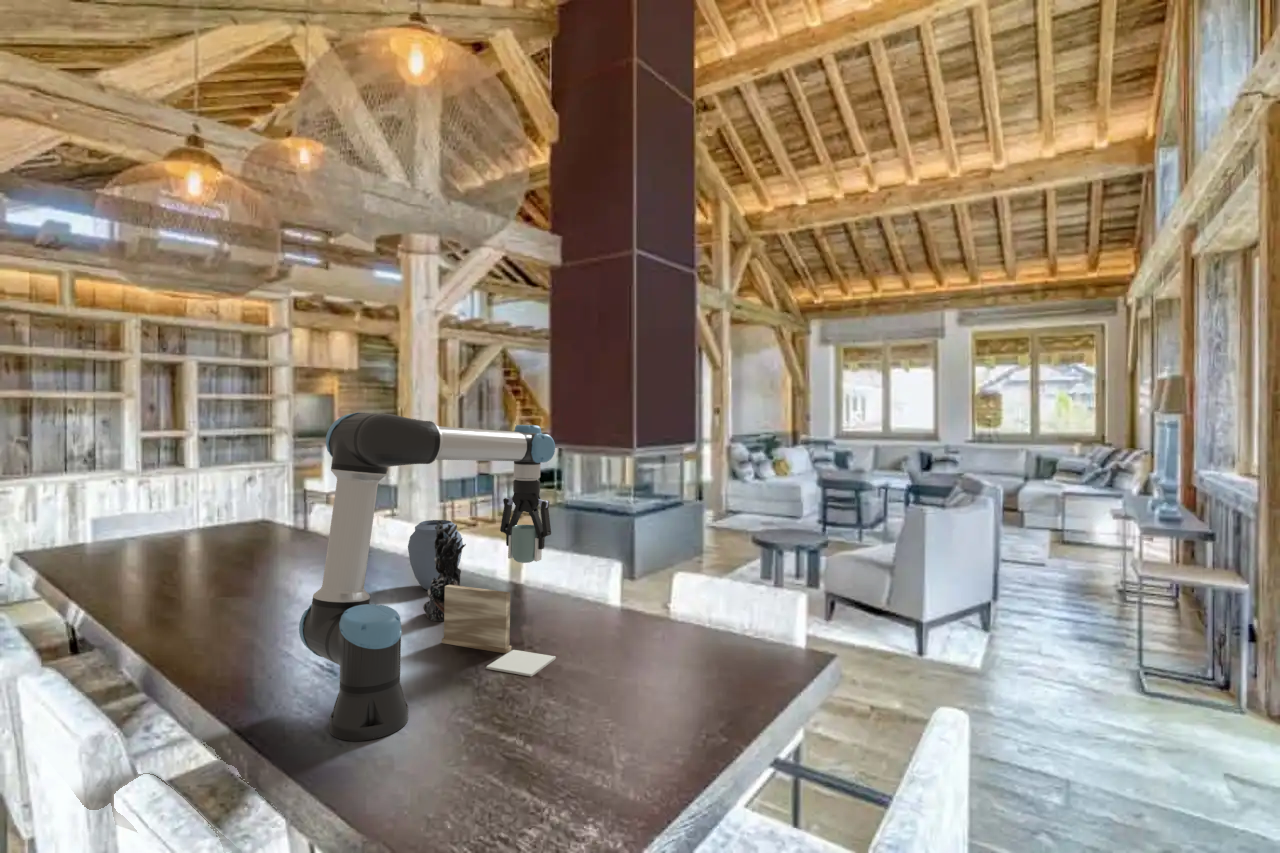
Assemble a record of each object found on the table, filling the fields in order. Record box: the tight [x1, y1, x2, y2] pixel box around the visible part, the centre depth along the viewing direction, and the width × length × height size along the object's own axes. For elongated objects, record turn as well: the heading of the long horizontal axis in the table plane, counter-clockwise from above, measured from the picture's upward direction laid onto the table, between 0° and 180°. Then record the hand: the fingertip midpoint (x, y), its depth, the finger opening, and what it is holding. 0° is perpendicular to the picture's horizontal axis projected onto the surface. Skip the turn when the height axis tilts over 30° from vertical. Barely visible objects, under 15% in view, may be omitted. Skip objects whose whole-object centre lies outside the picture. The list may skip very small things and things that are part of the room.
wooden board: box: [441, 585, 512, 654], centre depth 182 cm, size 3×21×16 cm, turn 70°
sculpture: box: [422, 519, 467, 622], centre depth 208 cm, size 14×15×30 cm
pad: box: [485, 649, 557, 678], centre depth 170 cm, size 13×13×1 cm
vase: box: [407, 519, 464, 591], centre depth 242 cm, size 20×20×24 cm
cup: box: [511, 524, 538, 564], centre depth 186 cm, size 8×8×10 cm
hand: (524, 558), depth 186 cm, fingers closed on cup, 8 cm apart
